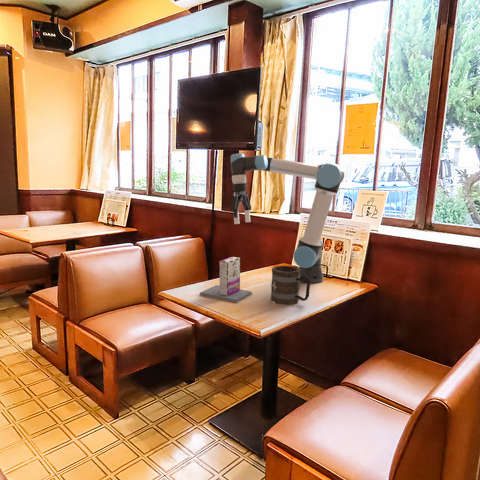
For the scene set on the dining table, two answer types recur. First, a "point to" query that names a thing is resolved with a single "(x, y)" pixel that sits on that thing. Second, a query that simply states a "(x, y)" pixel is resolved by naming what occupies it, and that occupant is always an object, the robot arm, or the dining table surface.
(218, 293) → the slate board
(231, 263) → the candy bar box
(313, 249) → the robot arm
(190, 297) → the dining table surface
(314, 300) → the dining table surface
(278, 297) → the mug
